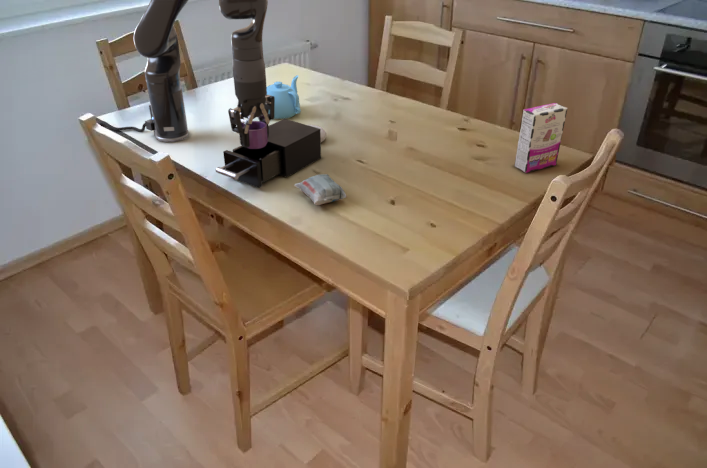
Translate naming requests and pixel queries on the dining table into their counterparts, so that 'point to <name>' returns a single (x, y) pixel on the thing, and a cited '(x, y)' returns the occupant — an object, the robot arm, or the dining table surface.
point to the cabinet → (295, 144)
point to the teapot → (285, 99)
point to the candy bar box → (540, 137)
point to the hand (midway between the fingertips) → (255, 141)
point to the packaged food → (321, 189)
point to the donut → (322, 131)
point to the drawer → (252, 164)
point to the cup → (257, 135)
